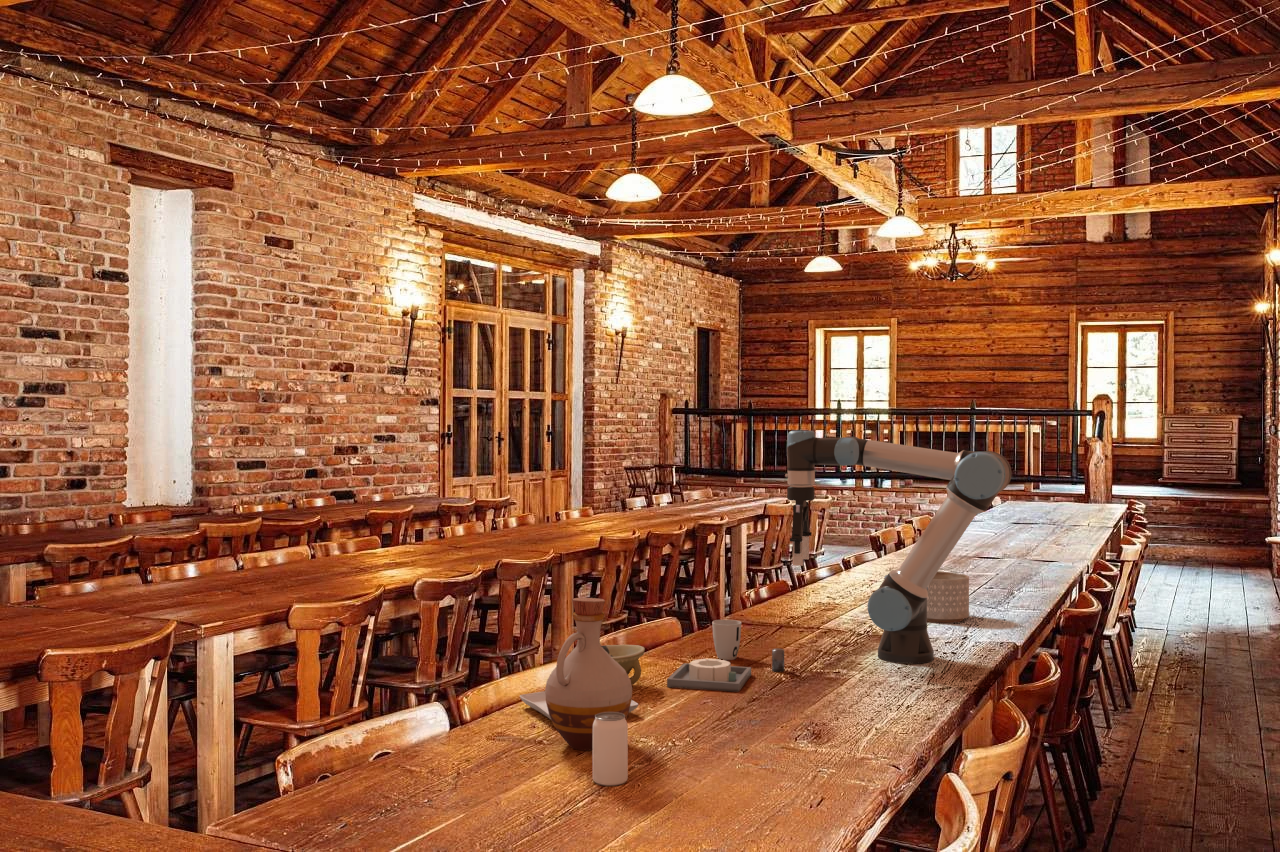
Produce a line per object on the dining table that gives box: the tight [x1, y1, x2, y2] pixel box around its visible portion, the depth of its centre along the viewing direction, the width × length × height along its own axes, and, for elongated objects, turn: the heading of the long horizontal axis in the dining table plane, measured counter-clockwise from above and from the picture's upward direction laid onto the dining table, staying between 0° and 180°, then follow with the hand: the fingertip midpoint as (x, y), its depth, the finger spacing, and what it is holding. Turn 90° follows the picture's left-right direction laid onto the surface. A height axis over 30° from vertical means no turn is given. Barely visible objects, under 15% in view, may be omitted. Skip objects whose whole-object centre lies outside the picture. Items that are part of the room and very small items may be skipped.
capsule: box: [771, 648, 785, 673], centre depth 285 cm, size 3×3×6 cm
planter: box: [927, 571, 970, 624], centre depth 359 cm, size 19×19×14 cm
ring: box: [689, 658, 736, 682], centre depth 274 cm, size 10×12×4 cm
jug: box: [544, 597, 633, 751], centre depth 219 cm, size 20×18×30 cm
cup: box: [711, 619, 742, 661], centre depth 300 cm, size 8×8×10 cm
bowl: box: [601, 644, 646, 686], centre depth 268 cm, size 18×18×10 cm
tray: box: [666, 662, 752, 693], centre depth 274 cm, size 18×18×2 cm
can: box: [592, 712, 629, 787], centre depth 198 cm, size 6×6×12 cm
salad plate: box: [519, 690, 639, 720], centre depth 245 cm, size 21×21×3 cm
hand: (800, 562), depth 299 cm, fingers open, 13 cm apart
